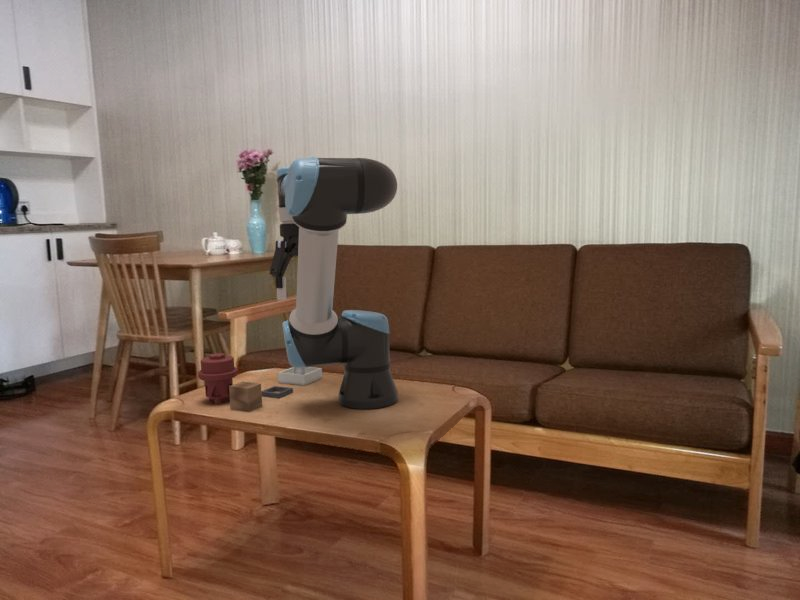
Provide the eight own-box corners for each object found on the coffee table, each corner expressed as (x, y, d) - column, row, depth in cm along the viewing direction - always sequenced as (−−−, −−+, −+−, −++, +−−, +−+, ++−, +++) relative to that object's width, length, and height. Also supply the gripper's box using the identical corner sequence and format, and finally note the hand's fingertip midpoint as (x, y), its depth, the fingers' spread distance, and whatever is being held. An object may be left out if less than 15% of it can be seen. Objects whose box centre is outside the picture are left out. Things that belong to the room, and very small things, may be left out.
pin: (307, 377, 184) (305, 337, 183) (301, 380, 182) (299, 339, 180) (298, 376, 186) (296, 336, 184) (292, 379, 183) (290, 338, 181)
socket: (293, 392, 171) (292, 388, 171) (279, 398, 165) (278, 393, 165) (274, 390, 174) (274, 385, 174) (260, 395, 168) (260, 391, 168)
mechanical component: (220, 408, 158) (191, 403, 163) (247, 397, 167) (219, 393, 172) (217, 360, 157) (188, 357, 161) (244, 352, 165) (216, 349, 170)
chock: (262, 406, 159) (261, 383, 158) (249, 412, 154) (247, 388, 153) (243, 404, 161) (242, 381, 161) (230, 409, 157) (229, 386, 156)
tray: (322, 378, 186) (321, 368, 185) (304, 385, 177) (303, 375, 177) (296, 375, 190) (296, 365, 189) (278, 382, 182) (277, 372, 181)
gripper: (307, 222, 190) (310, 291, 193) (253, 223, 168) (258, 301, 171) (327, 221, 187) (330, 292, 190) (276, 223, 165) (280, 302, 168)
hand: (296, 297), depth 180 cm, fingers open, 13 cm apart
